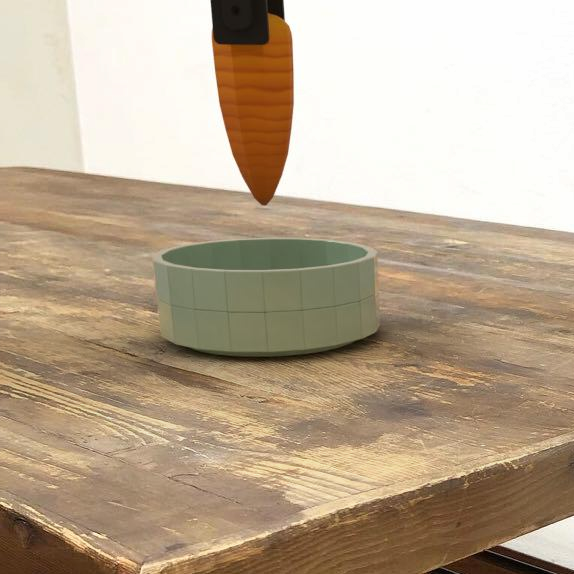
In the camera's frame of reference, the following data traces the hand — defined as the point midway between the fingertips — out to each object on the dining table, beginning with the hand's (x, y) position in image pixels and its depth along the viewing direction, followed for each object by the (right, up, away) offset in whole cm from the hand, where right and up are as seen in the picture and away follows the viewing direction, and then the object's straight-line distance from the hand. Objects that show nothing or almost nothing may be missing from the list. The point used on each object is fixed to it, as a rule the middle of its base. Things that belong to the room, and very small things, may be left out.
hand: (251, 41), depth 76 cm
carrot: (0, -9, +4) cm, 10 cm away
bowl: (0, -17, +7) cm, 18 cm away
